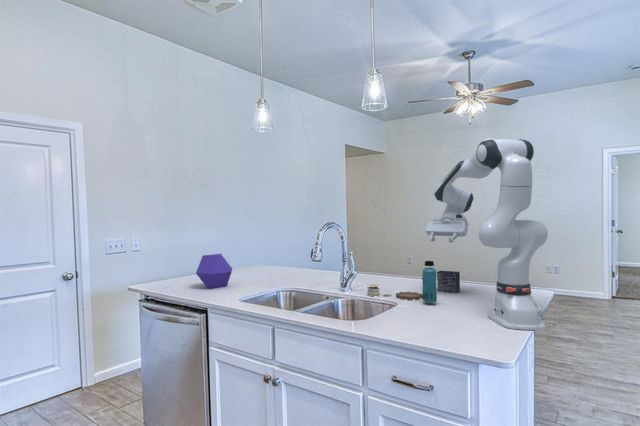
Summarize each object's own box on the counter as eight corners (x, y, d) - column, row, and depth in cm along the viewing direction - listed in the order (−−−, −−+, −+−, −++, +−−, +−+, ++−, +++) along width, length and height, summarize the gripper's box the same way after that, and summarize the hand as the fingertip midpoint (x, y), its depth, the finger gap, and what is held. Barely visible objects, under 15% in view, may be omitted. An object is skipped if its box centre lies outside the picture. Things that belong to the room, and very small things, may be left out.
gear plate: (423, 300, 185) (423, 297, 185) (396, 300, 187) (396, 296, 187) (421, 294, 197) (421, 291, 197) (395, 294, 200) (395, 291, 200)
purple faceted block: (228, 289, 238) (222, 258, 244) (242, 280, 224) (235, 247, 230) (192, 294, 223) (187, 261, 229) (205, 285, 209) (199, 250, 215)
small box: (460, 291, 205) (460, 271, 205) (457, 293, 200) (457, 273, 200) (440, 289, 211) (440, 269, 211) (437, 291, 205) (436, 271, 205)
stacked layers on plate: (386, 297, 195) (386, 286, 195) (370, 299, 191) (370, 287, 191) (376, 293, 204) (376, 282, 204) (361, 295, 201) (361, 284, 201)
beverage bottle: (434, 302, 181) (433, 259, 181) (439, 305, 175) (438, 261, 174) (420, 302, 181) (420, 260, 181) (424, 306, 174) (424, 261, 174)
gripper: (428, 215, 199) (419, 235, 192) (468, 216, 185) (459, 237, 178) (433, 224, 202) (424, 244, 195) (471, 224, 188) (463, 246, 181)
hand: (441, 241), depth 187 cm, fingers open, 8 cm apart
